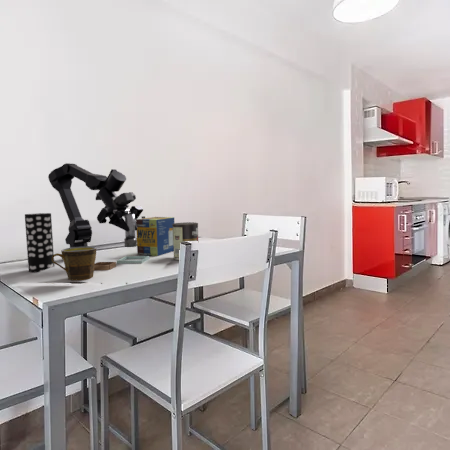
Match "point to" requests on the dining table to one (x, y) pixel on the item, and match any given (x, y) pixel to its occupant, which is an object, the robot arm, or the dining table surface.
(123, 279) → the dining table surface
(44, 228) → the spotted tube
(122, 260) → the tray
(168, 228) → the protein box
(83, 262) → the ceramic cup
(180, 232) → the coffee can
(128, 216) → the grey cylinder
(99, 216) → the robot arm
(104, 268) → the socket block
